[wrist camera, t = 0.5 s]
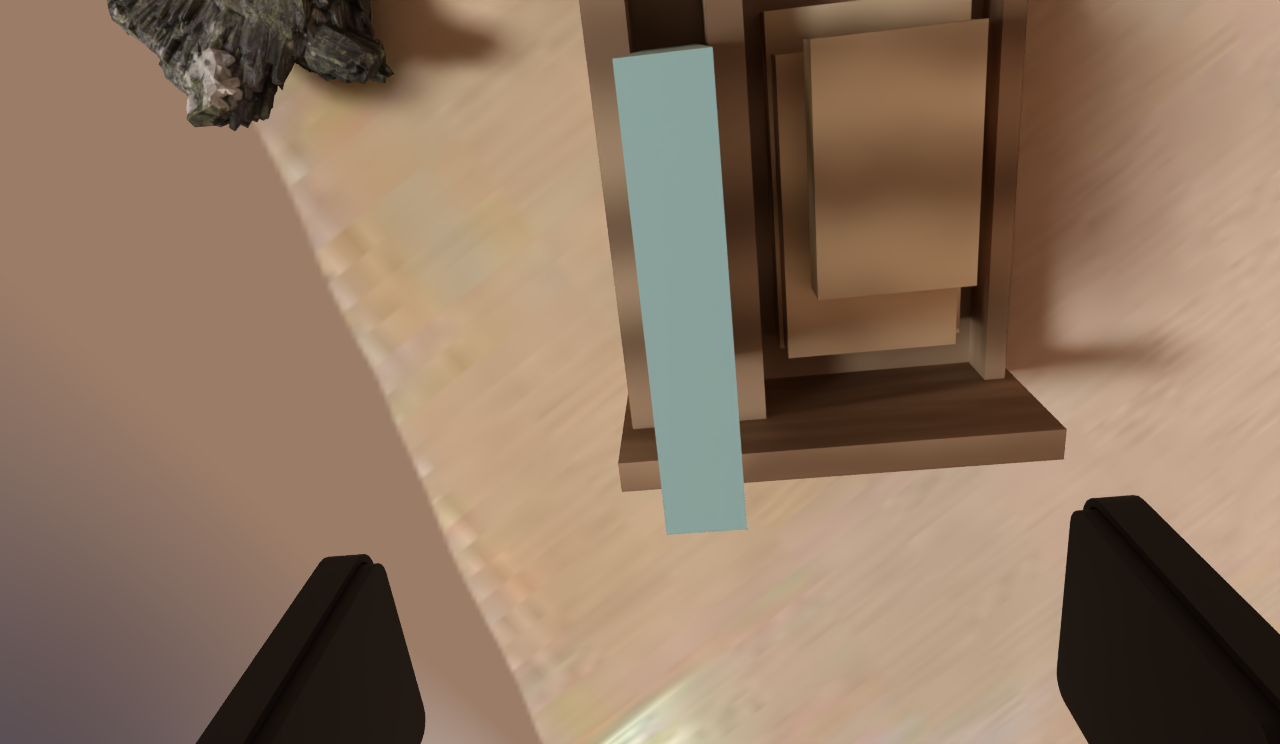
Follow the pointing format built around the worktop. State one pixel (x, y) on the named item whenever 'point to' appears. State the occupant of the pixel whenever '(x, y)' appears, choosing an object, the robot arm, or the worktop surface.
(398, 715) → the robot arm
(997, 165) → the walnut rack
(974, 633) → the worktop surface
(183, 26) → the mineral specimen
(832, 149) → the offcut stack
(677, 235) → the teal sheet
